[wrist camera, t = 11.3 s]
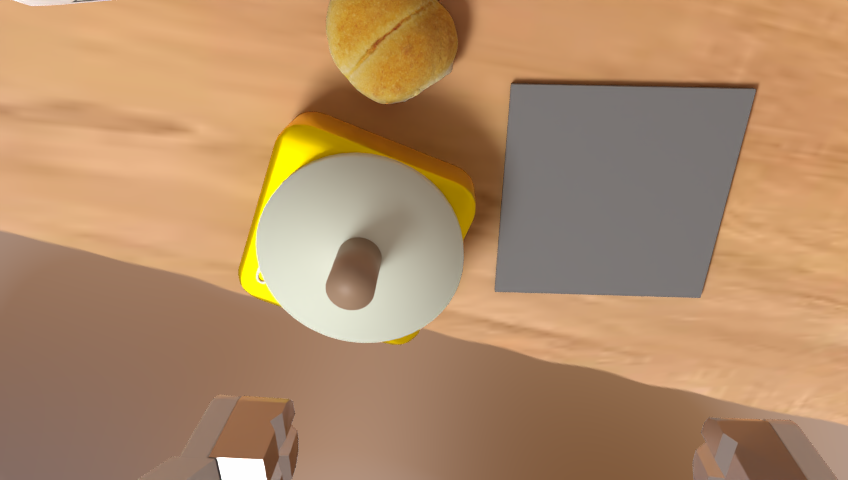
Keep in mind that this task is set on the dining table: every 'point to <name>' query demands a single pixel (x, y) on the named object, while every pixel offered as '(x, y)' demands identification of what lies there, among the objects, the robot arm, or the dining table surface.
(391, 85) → the bread roll
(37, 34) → the dining table surface
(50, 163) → the dining table surface
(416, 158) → the element tile
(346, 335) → the lid
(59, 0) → the supplement can
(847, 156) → the dining table surface
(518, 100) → the mat
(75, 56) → the dining table surface
